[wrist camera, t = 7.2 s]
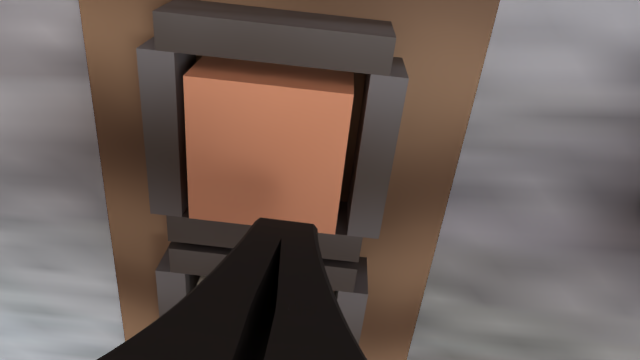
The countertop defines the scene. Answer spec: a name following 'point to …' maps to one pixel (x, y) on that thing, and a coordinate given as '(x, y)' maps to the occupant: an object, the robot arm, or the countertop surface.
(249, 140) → the terracotta button
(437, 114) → the button panel
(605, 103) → the countertop surface
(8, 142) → the countertop surface
